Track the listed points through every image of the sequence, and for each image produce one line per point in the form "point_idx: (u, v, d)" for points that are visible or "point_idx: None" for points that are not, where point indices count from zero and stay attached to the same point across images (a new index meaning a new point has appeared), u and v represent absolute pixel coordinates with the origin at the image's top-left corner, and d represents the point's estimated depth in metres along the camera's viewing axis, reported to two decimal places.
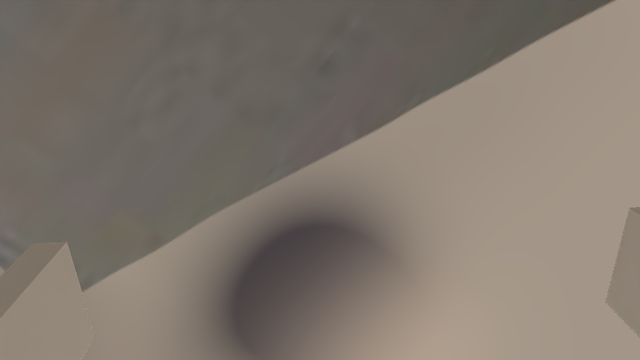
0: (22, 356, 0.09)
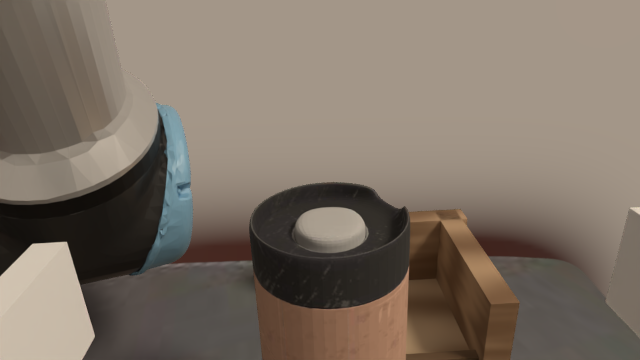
0: (22, 356, 0.09)
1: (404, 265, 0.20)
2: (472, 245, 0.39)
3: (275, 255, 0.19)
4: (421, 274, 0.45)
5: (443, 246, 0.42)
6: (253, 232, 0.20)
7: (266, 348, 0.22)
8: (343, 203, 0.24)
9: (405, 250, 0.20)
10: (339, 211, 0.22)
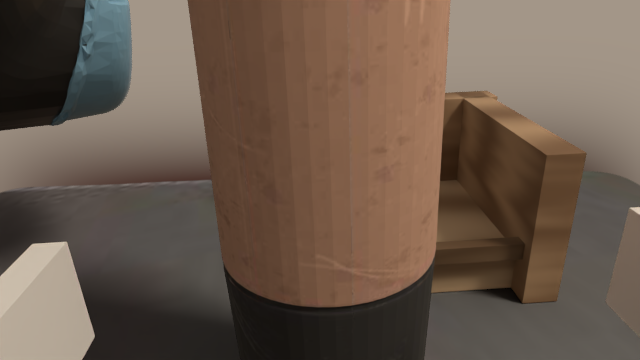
0: (22, 356, 0.09)
1: None
2: (508, 113, 0.30)
3: None
4: None
5: (468, 129, 0.33)
6: None
7: (209, 119, 0.13)
8: None
9: None
10: None
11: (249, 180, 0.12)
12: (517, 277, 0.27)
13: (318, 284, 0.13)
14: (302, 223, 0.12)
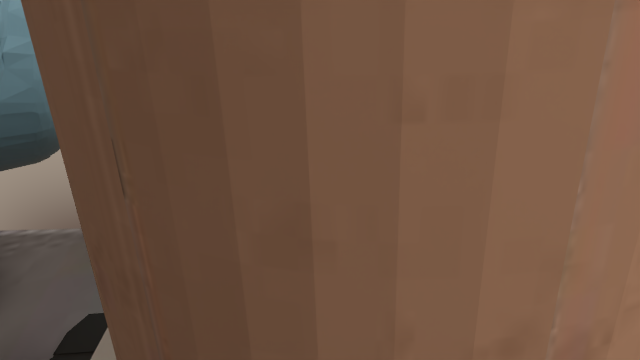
0: None
1: None
2: None
3: None
4: None
5: None
6: None
7: (112, 341, 0.05)
8: None
9: None
10: None
11: None
12: None
13: None
14: None
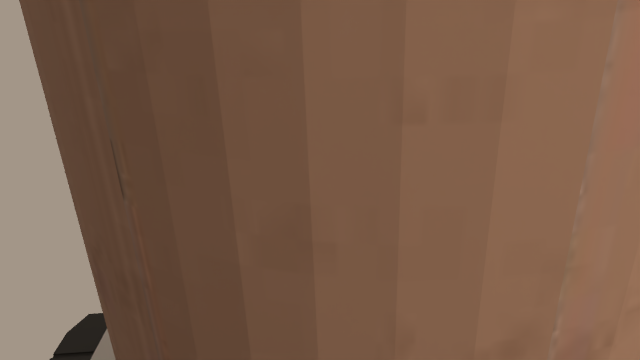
0: None
1: None
2: None
3: None
4: None
5: None
6: None
7: (111, 342, 0.05)
8: None
9: None
10: None
11: None
12: None
13: None
14: None
